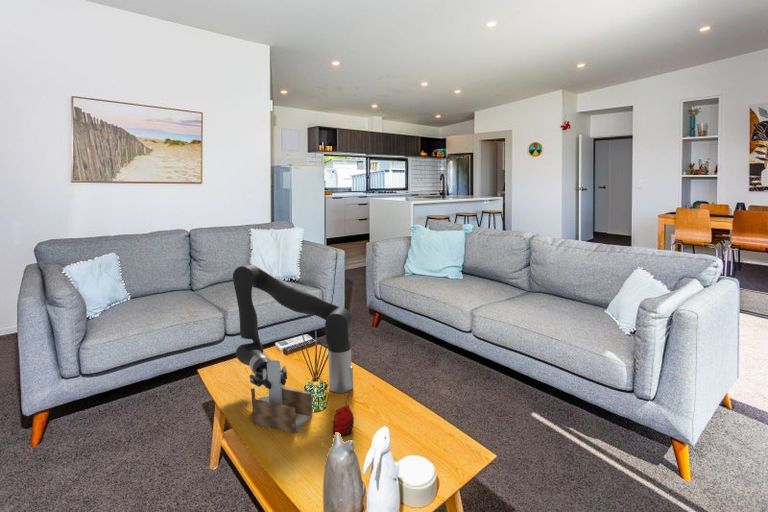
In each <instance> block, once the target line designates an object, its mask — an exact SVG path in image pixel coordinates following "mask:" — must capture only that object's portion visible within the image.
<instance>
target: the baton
mask: <svg viewBox="0 0 768 512" xmlns="http://www.w3.org/2000/svg"><path fill="white" fill-rule="evenodd" d="M280 369H281V362H280V361H279V360H274V359H273V360H271V361H269V362H268V363H267V373H268V381H269V382H270V383H271V389H268V396H269V402H271V403H276V404H281V405H282V390H281V372H280Z"/></svg>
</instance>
